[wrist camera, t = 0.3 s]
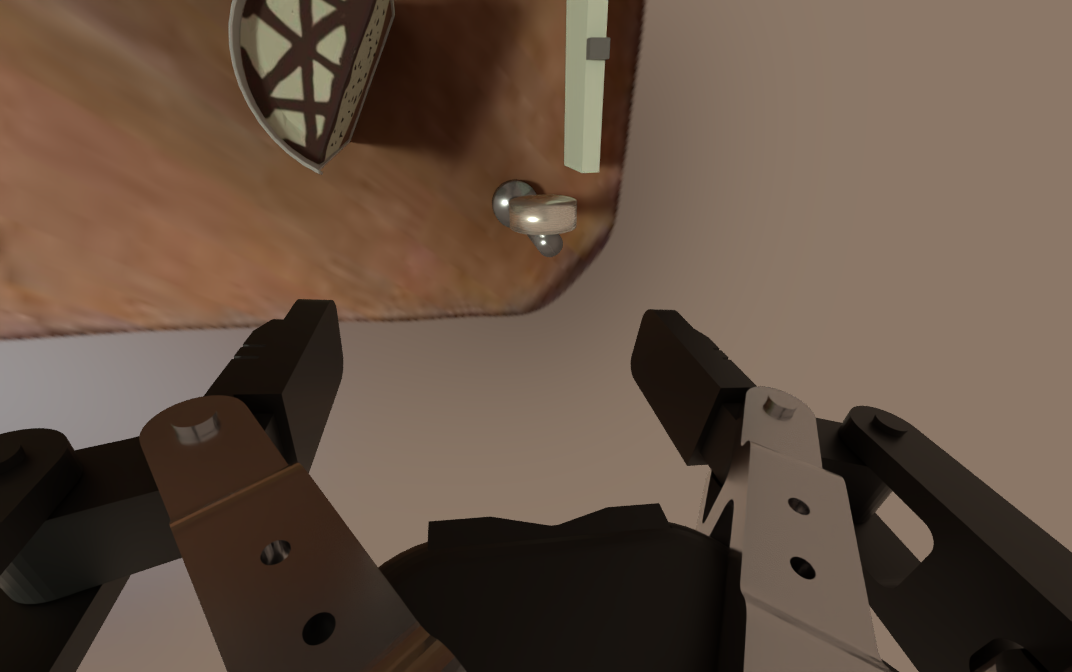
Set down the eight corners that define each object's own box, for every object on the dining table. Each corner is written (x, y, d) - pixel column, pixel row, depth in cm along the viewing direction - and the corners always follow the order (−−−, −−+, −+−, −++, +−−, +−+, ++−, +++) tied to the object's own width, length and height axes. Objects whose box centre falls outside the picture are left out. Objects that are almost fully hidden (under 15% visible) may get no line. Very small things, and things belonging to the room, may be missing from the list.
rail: (567, -81, 29) (596, -119, 24) (587, -80, 30) (619, -117, 25) (564, 165, 37) (585, 174, 32) (579, 164, 37) (602, 173, 32)
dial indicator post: (487, 177, 36) (515, 210, 25) (537, 174, 37) (586, 206, 26) (491, 227, 38) (518, 278, 27) (538, 223, 39) (583, 272, 28)
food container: (308, -74, 27) (253, -157, 18) (403, -8, 29) (393, -55, 21) (256, 117, 31) (191, 122, 22) (343, 160, 33) (314, 179, 25)
